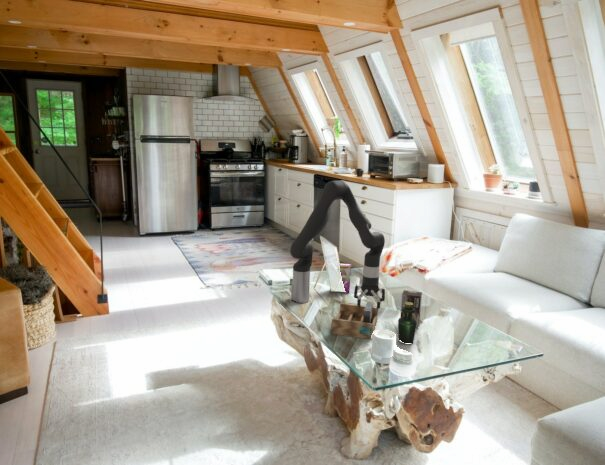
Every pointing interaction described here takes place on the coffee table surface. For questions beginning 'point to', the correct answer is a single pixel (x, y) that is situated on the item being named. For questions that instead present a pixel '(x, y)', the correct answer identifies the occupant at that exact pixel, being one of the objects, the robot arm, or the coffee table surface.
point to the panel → (368, 313)
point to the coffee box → (416, 300)
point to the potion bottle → (407, 324)
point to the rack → (353, 321)
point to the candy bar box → (346, 275)
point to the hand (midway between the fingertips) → (368, 307)
